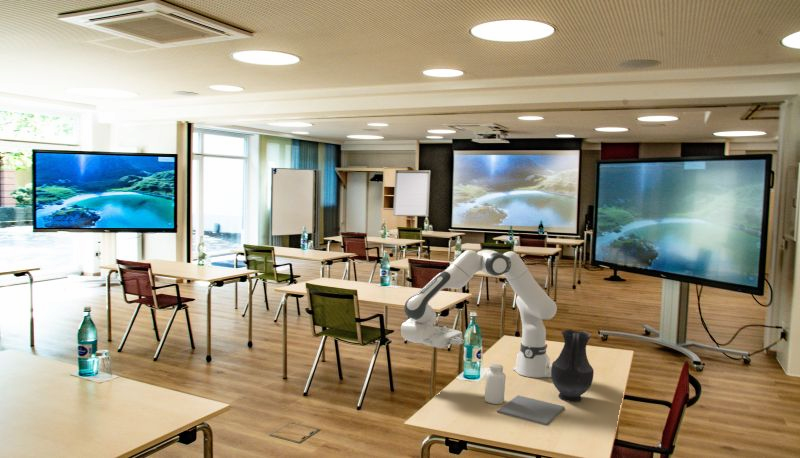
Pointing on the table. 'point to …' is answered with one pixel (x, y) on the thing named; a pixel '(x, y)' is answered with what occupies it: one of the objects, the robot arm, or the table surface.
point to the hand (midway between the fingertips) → (462, 341)
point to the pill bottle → (495, 384)
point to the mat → (531, 409)
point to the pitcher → (572, 367)
